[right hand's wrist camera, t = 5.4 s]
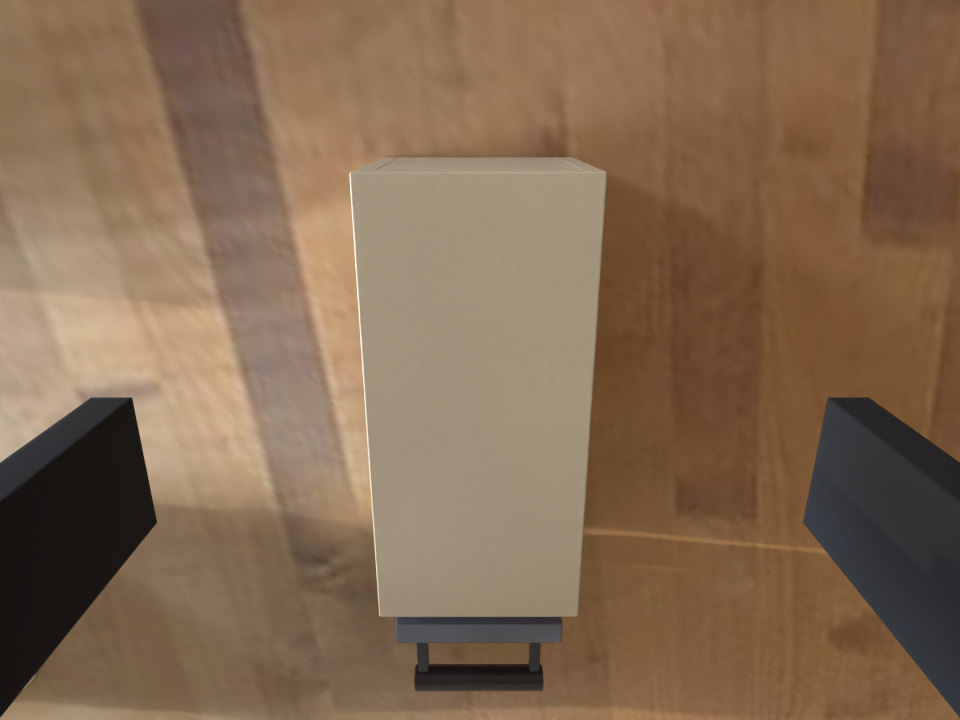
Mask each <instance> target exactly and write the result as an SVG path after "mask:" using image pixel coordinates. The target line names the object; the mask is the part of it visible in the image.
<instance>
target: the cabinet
mask: <svg viewBox="0 0 960 720" xmlns="http://www.w3.org/2000/svg"><path fill="white" fill-rule="evenodd" d="M349 175H350V189H351V204H352V219H353V234H354V249H355V263H356V278H357V293H358V308H359V323H360V337H361V352H362V367H363V382H364V396H365V411H366V426H367V441H368V456H369V470H370V485H371V500H372V515H373V529H374V544H375V559H376V574H377V589H378V603H379V616H380V617H577V616H578V610H579V595H580V579H581V564H582V549H583V534H584V519H585V504H586V488H587V473H588V458H589V443H590V428H591V413H592V397H593V382H594V367H595V352H596V337H597V322H598V307H599V291H600V276H601V261H602V246H603V231H604V216H605V200H606V185H607V172H605V171H603V170H600V169H598V168H596V167H594V166H591V165H589V164H587V163H585V162H582V161H580V160H578V159H576V158H574V157H384V158H381V159H378V160H376V161H374V162H371V163H369V164H367V165H365V166H362V167H360V168H358V169H355V170H354V171H351V172H350V173H349Z"/></svg>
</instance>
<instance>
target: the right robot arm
mask: <svg viewBox="0 0 960 720" xmlns="http://www.w3.org/2000/svg"><path fill="white" fill-rule="evenodd" d="M156 523H157V520H156V515H155V510H154V505H153V500H152V495H151V490H150V485H149V480H148V475H147V470H146V465H145V460H144V455H143V450H142V445H141V440H140V435H139V430H138V425H137V420H136V415H135V410H134V405H133V400H132V398H90V399H89V400H87V401H86V402H85V403H83V404H82V405H80V406H79V407H78V408H76V409H75V410H73V411H72V412H71V413H69V414H68V415H66V416H65V417H64V418H62V419H61V420H59V421H58V422H57V423H55V424H54V425H52V426H51V427H50V428H48V429H47V430H45V431H44V432H43V433H41V434H40V435H38V436H37V437H36V438H34V439H33V440H31V441H30V442H29V443H27V444H26V445H24V446H23V447H22V448H20V449H19V450H17V451H16V452H15V453H13V454H12V455H10V456H9V457H8V458H6V459H5V460H3V461H2V462H1V463H0V717H1V716H2V715H3V713H4V712H5V711H6V710H7V708H8V707H9V706H10V705H11V703H12V702H13V701H14V700H15V698H16V697H17V696H18V695H19V693H20V692H21V691H22V690H23V688H24V687H25V686H26V685H27V684H28V682H29V681H30V680H31V679H32V677H33V676H34V675H35V674H36V672H37V671H38V670H39V669H40V667H41V666H42V665H43V664H44V662H45V661H46V660H47V659H48V657H49V656H50V655H51V654H52V652H53V651H54V650H55V649H56V647H57V646H58V645H59V644H60V642H61V641H62V640H63V639H64V637H65V636H66V635H67V634H68V632H69V631H70V630H71V629H72V627H73V626H74V625H75V624H76V623H77V621H78V620H79V619H80V618H81V616H82V615H83V614H84V613H85V611H86V610H87V609H88V608H89V606H90V605H91V604H92V603H93V601H94V600H95V599H96V598H97V596H98V595H99V594H100V593H101V591H102V590H103V589H104V588H105V586H106V585H107V584H108V583H109V581H110V580H111V579H112V578H113V576H114V575H115V574H116V573H117V571H118V570H119V569H120V568H121V566H122V565H123V564H124V563H125V562H126V560H127V559H128V558H129V557H130V555H131V554H132V553H133V552H134V550H135V549H136V548H137V547H138V545H139V544H140V543H141V542H142V540H143V539H144V538H145V537H146V535H147V534H148V533H149V532H150V530H151V529H152V528H153V527H154V525H155V524H156ZM803 523H804V524H805V525H806V527H807V528H808V529H809V530H810V532H811V533H812V534H813V535H814V537H815V538H816V539H817V540H818V542H819V543H820V544H821V545H822V547H823V548H824V549H825V550H826V552H827V553H828V554H829V555H830V557H831V558H832V559H833V560H834V562H835V563H836V564H837V565H838V566H839V568H840V569H841V570H842V571H843V573H844V574H845V575H846V576H847V578H848V579H849V580H850V581H851V583H852V584H853V585H854V586H855V588H856V589H857V590H858V591H859V593H860V594H861V595H862V596H863V598H864V599H865V600H866V601H867V603H868V604H869V605H870V606H871V608H872V609H873V610H874V611H875V613H876V614H877V615H878V616H879V618H880V619H881V620H882V621H883V623H884V624H885V625H886V626H887V627H888V629H889V630H890V631H891V632H892V634H893V635H894V636H895V637H896V639H897V640H898V641H899V642H900V644H901V645H902V646H903V647H904V649H905V650H906V651H907V652H908V654H909V655H910V656H911V657H912V659H913V660H914V661H915V662H916V664H917V665H918V666H919V667H920V669H921V670H922V671H923V672H924V674H925V675H926V676H927V677H928V679H929V680H930V681H931V682H932V684H933V685H934V686H935V687H936V688H937V690H938V691H939V692H940V693H941V695H942V696H943V697H944V698H945V700H946V701H947V702H948V703H949V705H950V706H951V707H952V708H953V710H954V711H955V712H956V713H957V715H958V716H959V717H960V463H959V462H958V461H957V460H955V459H954V458H952V457H951V456H950V455H948V454H947V453H945V452H944V451H943V450H941V449H940V448H938V447H937V446H936V445H934V444H933V443H931V442H930V441H929V440H927V439H926V438H924V437H923V436H922V435H920V434H919V433H917V432H916V431H915V430H913V429H912V428H910V427H909V426H908V425H906V424H905V423H903V422H902V421H901V420H899V419H898V418H896V417H895V416H894V415H892V414H891V413H889V412H888V411H887V410H885V409H884V408H882V407H881V406H880V405H878V404H877V403H875V402H874V401H873V400H871V399H870V398H828V400H827V405H826V410H825V415H824V420H823V425H822V430H821V435H820V440H819V445H818V450H817V455H816V460H815V465H814V470H813V475H812V480H811V485H810V490H809V495H808V500H807V505H806V510H805V515H804V520H803Z"/></svg>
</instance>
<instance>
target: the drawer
mask: <svg viewBox="0 0 960 720" xmlns="http://www.w3.org/2000/svg"><path fill="white" fill-rule="evenodd" d="M395 631H396V642H397V643H417V656H418V664H417V665H416V667H415V680H414V686H415V691H542V690H543V669H542V665H541V664H540V647H541V643H560V642H561V641H562V620H561V617H396V623H395ZM428 643H529V664H429V646H428Z"/></svg>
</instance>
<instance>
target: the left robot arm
mask: <svg viewBox="0 0 960 720" xmlns="http://www.w3.org/2000/svg"><path fill="white" fill-rule="evenodd" d="M35 677H36V674H35V675H34V676H33V677H32V679H31V680H30V681H29V682H28V684H27V685H26V686H25V687H24V688H23V690H24V689H25V688H26V687H27V686H28V685H29V684H30V683H31V682H32V681H33V680H34V679H35ZM23 690H22V691H23ZM22 691H21V692H22Z"/></svg>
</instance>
